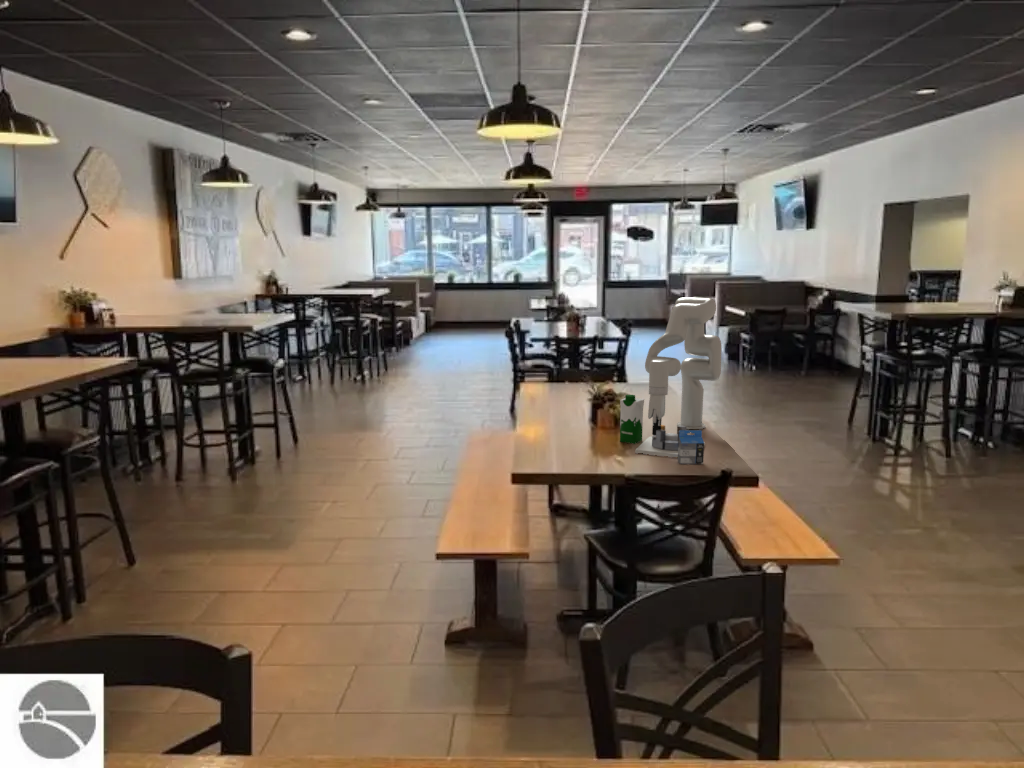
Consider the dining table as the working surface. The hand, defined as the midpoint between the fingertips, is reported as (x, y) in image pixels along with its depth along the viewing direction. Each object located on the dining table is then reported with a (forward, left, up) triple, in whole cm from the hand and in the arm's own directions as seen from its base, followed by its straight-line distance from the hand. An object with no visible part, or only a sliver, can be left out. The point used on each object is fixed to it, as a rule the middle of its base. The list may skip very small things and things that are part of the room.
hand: (656, 434), depth 297 cm
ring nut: (0, +6, -4) cm, 7 cm away
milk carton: (-6, -12, -6) cm, 15 cm away
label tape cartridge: (+16, +17, -6) cm, 24 cm away
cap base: (0, +6, -6) cm, 8 cm away
